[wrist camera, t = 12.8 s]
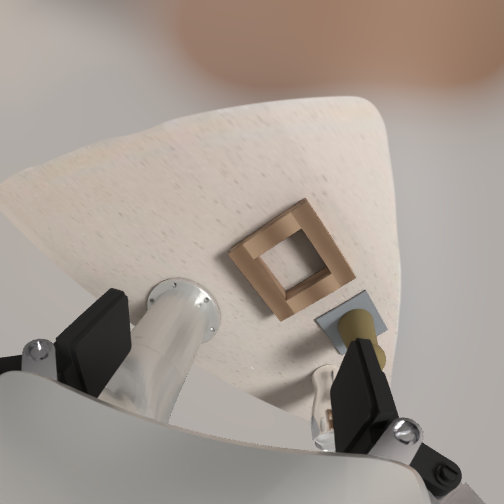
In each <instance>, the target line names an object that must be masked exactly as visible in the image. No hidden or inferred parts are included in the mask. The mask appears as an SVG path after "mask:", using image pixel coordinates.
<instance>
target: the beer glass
mask: <svg viewBox="0 0 504 504" xmlns="http://www.w3.org/2000/svg"><path fill="white" fill-rule="evenodd" d="M339 368H340V367H339V366H336V365H325V366H322V367H319V368H318V369H316V370H315V371H314V373H313V374H312V383H313V386H314V391H315V395H314V401H313V406H312V412H311V432H312V440H313V446H314V447H315V448H316V449H318V450H320V451H323V452H335V440H334V429H333V419H332V409H331V399H330V389H331V386H332V383H333V381H334V379H335V377H336V375H337V372H338V370H339Z"/></svg>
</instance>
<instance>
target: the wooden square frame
mask: <svg viewBox="0 0 504 504" xmlns="http://www.w3.org/2000/svg"><path fill="white" fill-rule="evenodd" d="M301 228H302V230H303V231H304V233H305V234H306V235H307V237H308V238H309V240H310V241H311V243H312V244H313V246H314V247H315V249H316V250H317V252H318V253H319V255H320V256H321V258H322V259H323V261H324V262H325V264H326V265H327V267H326V268H324V269H322V270H321V271H319V272H317V273H316V274H314V275H313V276H311V277H309V278H308V279H306V280H304V281H303V282H301V283H299V284H298V285H296V286H294V287H293V288H291V289H289V290H288V291H285V290H284V288H283V287H282V286H281V284H280V283H279V282H278V280H277V279H276V278H275V276H274V275H273V274H272V272H271V271H270V270H269V268H268V267H267V266H266V264H265V263H264V262H263V260H262V259H261V258H260V255H261V254H263V253H264V252H266V251H267V250H269V249H271V248H272V247H274V246H275V245H277V244H278V243H280V242H281V241H283V240H284V239H286V238H287V237H289V236H291V235H292V234H294V233H295V232H297V231H298V230H300V229H301ZM228 255H229V256H230V258H231V259H232V260H233V262H234V263H235V264H236V266H237V267H238V268H239V269H240V271H241V272H242V273H243V275H244V276H245V277H246V278H247V280H248V281H249V282H250V283H251V285H252V286H253V287H254V289H255V290H256V291H257V292H258V294H259V295H260V296H261V298H262V299H263V300H264V301H265V303H266V304H267V305H268V306H269V308H270V309H271V310H272V311H273V313H274V314H275V315H276V316H277V318H278V319H279V320H280V321H283V320H285V319H286V318H288V317H290V316H292V315H294V314H295V313H297V312H299V311H301V310H302V309H304V308H306V307H308V306H310V305H311V304H313V303H315V302H316V301H318V300H320V299H322V298H323V297H325V296H327V295H328V294H330V293H332V292H333V291H335V290H337V289H339V288H340V287H342V286H343V285H345V284H347V283H348V282H350V281H352V280H353V279H355V278H356V277H355V275H354V273H353V271H352V269H351V267H350V266H349V264H348V263H347V261H346V259H345V258H344V256H343V254H342V253H341V251H340V250H339V248H338V246H337V245H336V243H335V242H334V240H333V239H332V237H331V235H330V234H329V232H328V231H327V229H326V228H325V226H324V225H323V223H322V222H321V220H320V219H319V217H318V216H317V214H316V213H315V211H314V210H313V208H312V207H311V205H310V204H309V202H308V201H307V199H306V198H304V199H303V200H301V201H300V202H298V203H297V204H295V205H294V206H293V207H291V208H290V209H288V210H287V211H285V212H284V213H282V214H281V215H279V216H278V217H276V218H275V219H273V220H272V221H270V222H269V223H267V224H266V225H264V226H263V227H261V228H260V229H258V230H257V231H255V232H254V233H252V234H251V235H249V236H248V237H247V238H245V239H244V240H242V241H241V242H239V243H238V244H236V245H235V246H233V247H232V248H231V250H230V252H229V254H228Z"/></svg>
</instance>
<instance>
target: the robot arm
mask: <svg viewBox="0 0 504 504" xmlns="http://www.w3.org/2000/svg"><path fill="white" fill-rule="evenodd" d="M207 298H208V299H207ZM147 309H148V311H147V312H146V313H145V315H144V316H143V317H142V318H141V320H140V321H139V322H138V323H137V325H136V326H135V327H134V328H133V330H132V331H131V332H130V321H129V308H128V297H127V296H126V295H125V293H124V292H123V291H121V290H117V289H113V288H111V289H109V290H108V291H107V292H106V293H105V294H104V295H102V296H101V297H100V298H99V299H98V300H97V301H96V302H95V303H93V304H92V305H91V306H90V307H89V308H88V309H87V310H86V311H85V312H84V313H83V314H81V315H80V316H79V317H78V318H77V319H76V320H75V321H74V322H73V323H72V324H71V325H69V326H68V327H67V328H66V329H65V330H64V331H63V332H62V333H61V334H60V335H59V336H58V337H57V338H56V342H55V343H54V344H53V343H52V342H50V341H49V340H46V339H37V340H33V341H31V342H29V343H28V344H26V345H25V347H24V348H23V352H22V355H17V356H10V357H2V358H0V504H485V503H484V502H483V500H482V499H481V498H480V497H479V496H478V495H477V494H476V493H475V492H474V491H473V490H472V489H471V487H470V486H469V485H468V484H467V483H464V484H462V483H461V479H462V474H461V470H460V468H459V467H458V466H457V465H456V464H455V463H454V462H452V461H451V460H449V459H447V458H446V457H444V456H443V455H441V454H439V453H438V452H436V451H435V450H433V449H432V448H430V447H429V446H427V445H425V444H424V443H422V440H423V437H424V436H423V431H422V428H421V427H420V426H419V424H418V423H416V422H415V421H414V420H411V419H409V418H399V416H398V413H397V410H396V406H395V403H394V400H393V397H392V394H391V391H390V388H389V385H388V382H387V379H386V376H385V374H384V372H382V370H381V367H380V365H379V362H378V359H377V356H376V353H375V350H374V347H373V345H372V342H371V340H370V339H363V338H356V339H355V341H351V342H350V344H349V347H348V349H347V352H346V354H345V356H344V359H343V361H342V363H341V366H340V368H339V370H338V372H337V375H336V377H335V379H334V381H333V383H332V386H331V389H330V399H331V409H332V419H333V429H334V440H335V452H321V451H309V450H299V449H288V448H280V447H272V446H265V445H259V444H252V443H247V442H241V441H236V440H231V439H226V438H221V437H216V436H212V435H207V434H203V433H199V432H195V431H191V430H187V429H184V428H180V427H177V426H173V425H170V424H168V421H169V419H170V416H171V413H172V410H173V407H174V405H175V402H176V400H177V397H178V395H179V393H180V391H181V388H182V386H183V384H184V382H185V379H186V377H187V375H188V372H189V370H190V368H191V365H192V363H193V361H194V359H195V356H196V354H197V352H198V349H199V347H200V345H201V344H203V343H206V342H207V341H209V340H210V339H211V338H212V337H213V336H214V335H215V334H216V332H217V330H218V327H219V324H220V311H219V308H218V305H217V303H216V301H215V299H214V298H213V297H212V295H211V294H210V293H209V292H208V291H207V290H206V289H205V288H203V287H202V286H200V285H199V284H197V283H195V282H193V281H190V280H186V279H181V278H172V279H167V280H164V281H162V282H161V283H159V284H158V285H157V286H156V287H155V288H154V289H153V290H152V291H151V293H150V295H149V297H148V302H147ZM106 387H107V388H106Z"/></svg>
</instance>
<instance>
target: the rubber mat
mask: <svg viewBox="0 0 504 504" xmlns="http://www.w3.org/2000/svg"><path fill="white" fill-rule="evenodd" d="M353 309H364V310H366V311H368V312H369V313H370V314H371V315H372V317H373V321H374V326H375V332H376V336H378V335H380V334H381V333H383V332H385V331H387V330H388V329H387V327H386V326H385V324H384V322H383V320H382V318H381V317H380V315H379V313H378V311H377V309H376V308H375V306H374V304H373V302H372V300H371V299H370V297H369V295H368V294H367V292H366V290H364V291H362V292H361V293H359V294H357V295H356V296H354V297H352V298H351V299H349V300H347V301H346V302H344V303H342V304H341V305H339V306H337V307H335V308H334V309H332V310H330V311H328V312H327V313H325V314H323V315H321V316H320V317H318V318H316V321H317V322H318V323H319V325H320V326H321V327H322V329H323V330H324V332H325V333H326V334H327V336H328V337H329V339H330V340H331V341H332V343H333V344H334V345H335V347H336V348H337V350H338V351H339V352H340V354H341V355H343V354H345V353H346V352H347V348H346V346H345V344H344V342H343V340H342V338H341V336H340V334H339V331H338V322H339V319H340V318H341V317H342V316H343V315H344V314H345V313H346V312H348V311H350V310H353Z"/></svg>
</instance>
